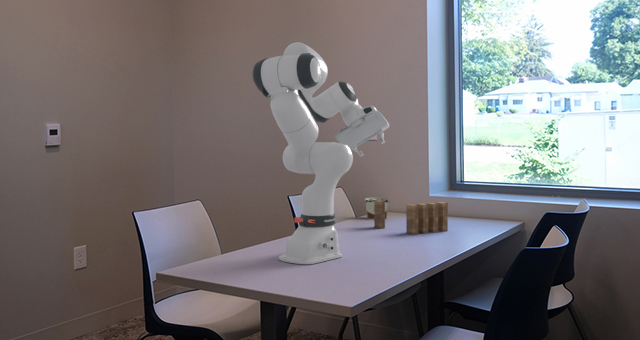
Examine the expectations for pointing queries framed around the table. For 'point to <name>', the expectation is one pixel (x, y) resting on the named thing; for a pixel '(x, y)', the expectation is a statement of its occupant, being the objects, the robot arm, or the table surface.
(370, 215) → the food container
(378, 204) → the domino
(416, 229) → the domino
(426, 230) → the domino
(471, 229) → the table surface
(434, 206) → the domino
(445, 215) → the domino
